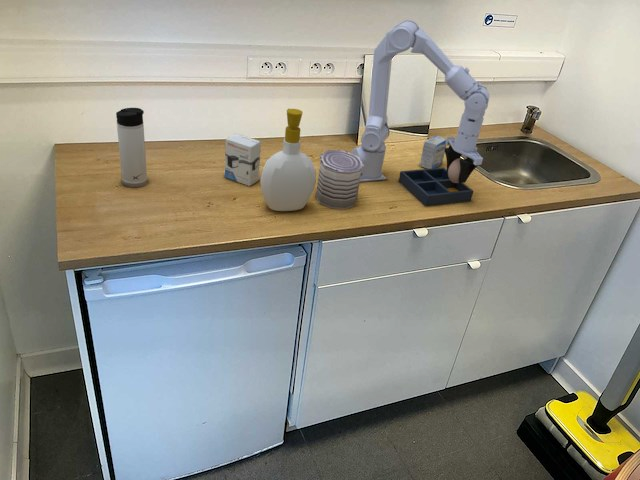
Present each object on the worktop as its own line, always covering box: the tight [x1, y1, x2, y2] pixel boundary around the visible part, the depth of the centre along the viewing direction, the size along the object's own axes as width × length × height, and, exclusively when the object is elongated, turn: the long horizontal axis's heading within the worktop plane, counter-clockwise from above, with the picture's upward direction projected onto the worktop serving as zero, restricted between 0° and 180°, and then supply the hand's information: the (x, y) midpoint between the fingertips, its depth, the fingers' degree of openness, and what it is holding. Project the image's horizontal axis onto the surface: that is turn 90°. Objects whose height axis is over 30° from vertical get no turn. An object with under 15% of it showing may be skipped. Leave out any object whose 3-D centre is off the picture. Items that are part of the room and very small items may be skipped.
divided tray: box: [398, 167, 475, 207], centre depth 158 cm, size 15×15×3 cm
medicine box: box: [419, 135, 448, 169], centre depth 172 cm, size 8×4×9 cm, turn 143°
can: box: [315, 149, 364, 210], centre depth 145 cm, size 11×11×12 cm
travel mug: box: [115, 107, 148, 188], centre depth 138 cm, size 6×7×20 cm
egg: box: [448, 157, 462, 183], centre depth 154 cm, size 5×5×7 cm
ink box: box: [224, 133, 262, 187], centre depth 149 cm, size 8×5×12 cm, turn 62°
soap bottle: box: [259, 108, 317, 212], centre depth 135 cm, size 14×9×26 cm, turn 108°
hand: (456, 177), depth 155 cm, fingers closed on egg, 5 cm apart
